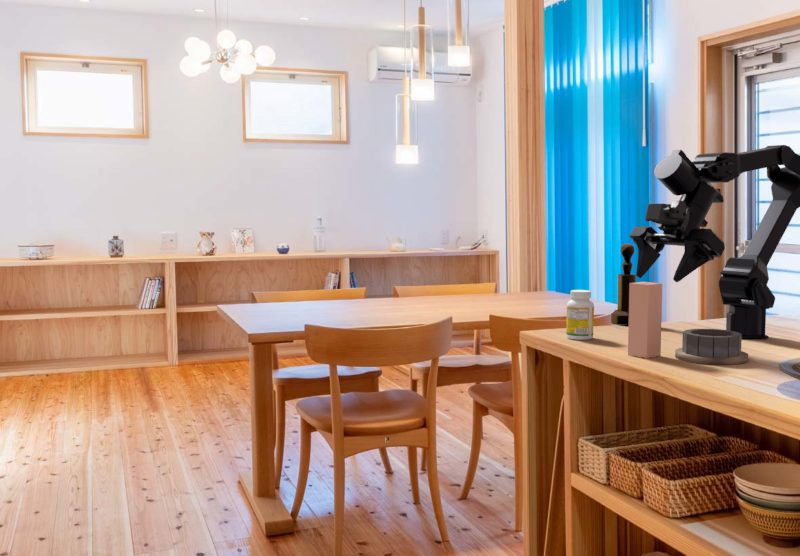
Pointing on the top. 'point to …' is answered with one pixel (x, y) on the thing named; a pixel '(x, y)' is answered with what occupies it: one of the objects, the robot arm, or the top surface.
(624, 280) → the dark wooden chess piece
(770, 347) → the top surface
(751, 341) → the top surface
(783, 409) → the top surface
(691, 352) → the socket
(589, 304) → the supplement bottle
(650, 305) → the terracotta peg
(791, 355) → the top surface
